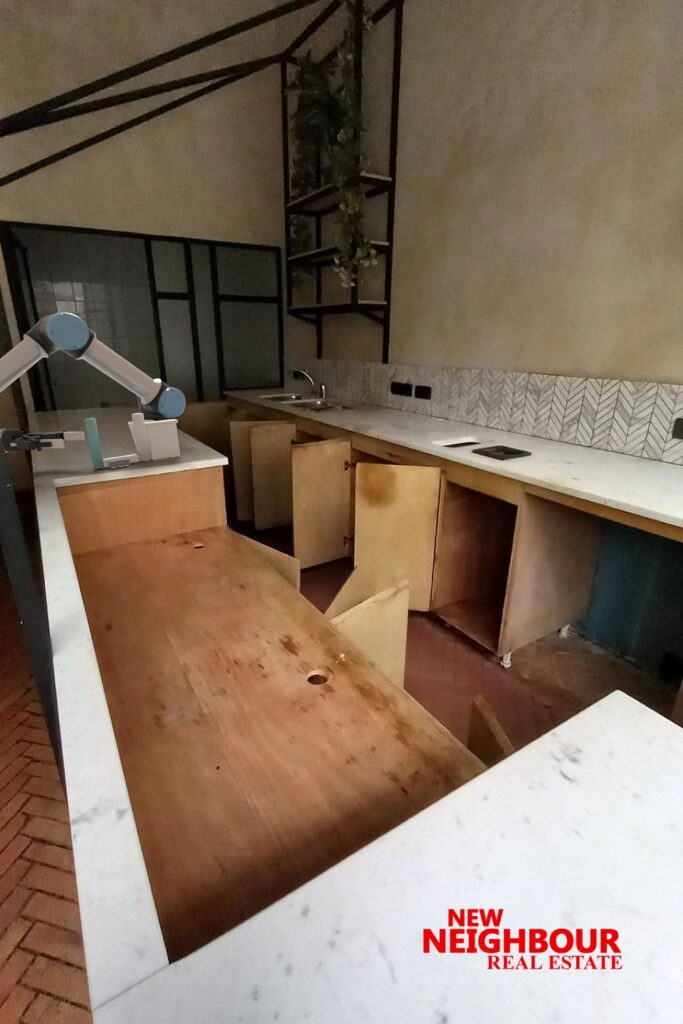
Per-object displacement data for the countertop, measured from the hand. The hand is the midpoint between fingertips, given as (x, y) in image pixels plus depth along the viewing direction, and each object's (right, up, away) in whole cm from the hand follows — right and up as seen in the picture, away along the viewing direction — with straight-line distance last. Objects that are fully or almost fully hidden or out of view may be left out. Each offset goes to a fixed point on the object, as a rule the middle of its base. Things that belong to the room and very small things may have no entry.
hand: (74, 439), depth 160 cm
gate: (+12, -7, +8) cm, 16 cm away
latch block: (+12, -8, +5) cm, 16 cm away
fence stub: (+23, -4, +17) cm, 29 cm away
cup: (+11, 0, +30) cm, 32 cm away
